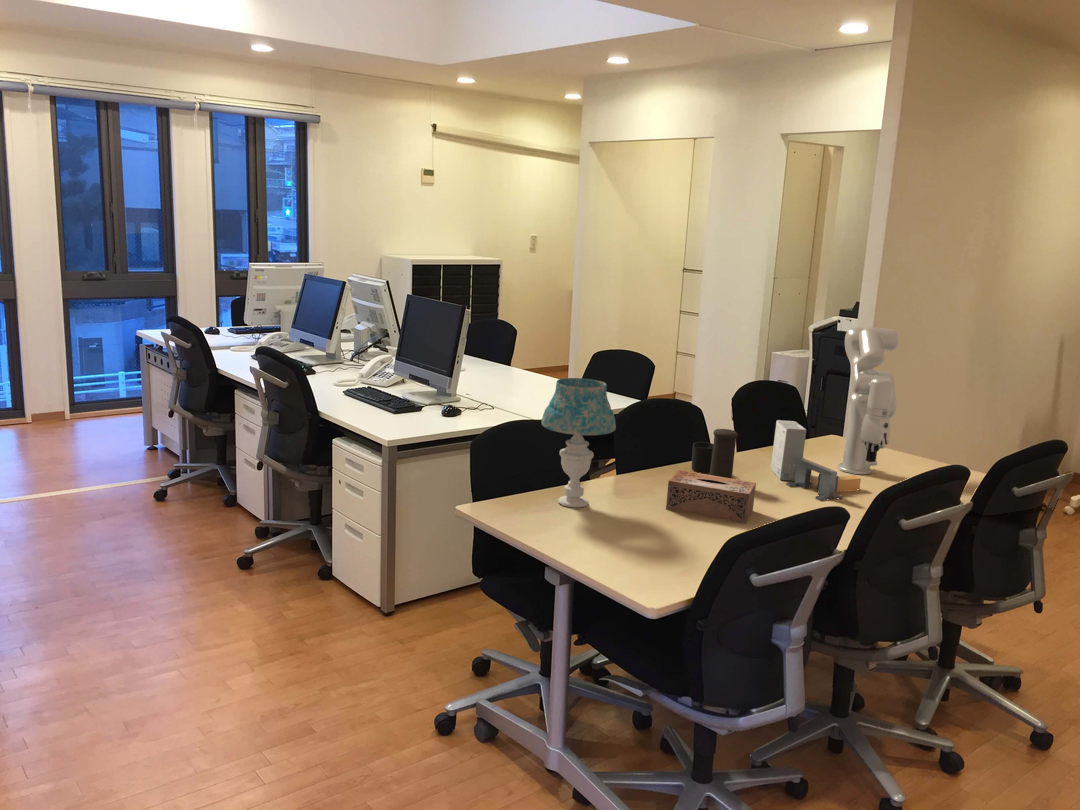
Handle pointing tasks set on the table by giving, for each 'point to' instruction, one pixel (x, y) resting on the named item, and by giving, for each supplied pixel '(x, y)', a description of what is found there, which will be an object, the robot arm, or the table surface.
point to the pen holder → (702, 457)
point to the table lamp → (578, 428)
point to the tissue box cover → (711, 496)
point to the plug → (845, 483)
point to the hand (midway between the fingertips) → (870, 461)
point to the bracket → (825, 482)
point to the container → (723, 453)
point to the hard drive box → (787, 449)
